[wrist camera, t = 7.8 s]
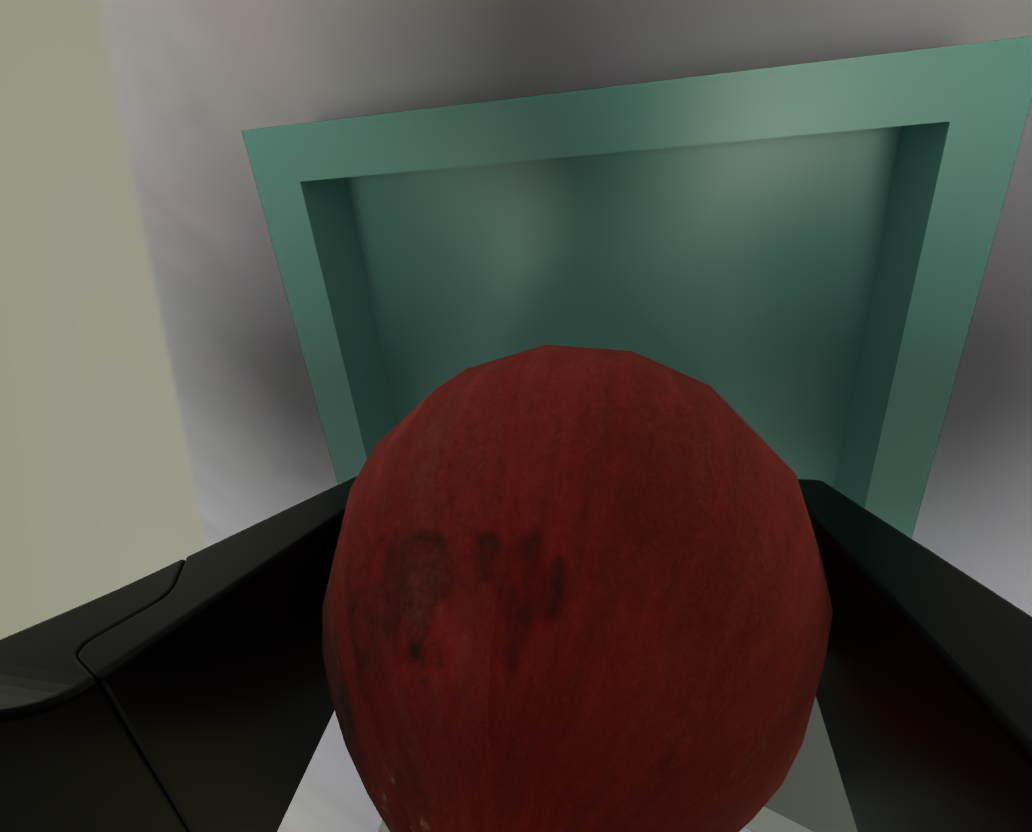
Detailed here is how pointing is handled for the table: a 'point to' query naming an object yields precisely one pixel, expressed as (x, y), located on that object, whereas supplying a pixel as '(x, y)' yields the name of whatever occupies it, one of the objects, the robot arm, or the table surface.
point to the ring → (804, 790)
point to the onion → (574, 605)
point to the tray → (666, 246)
